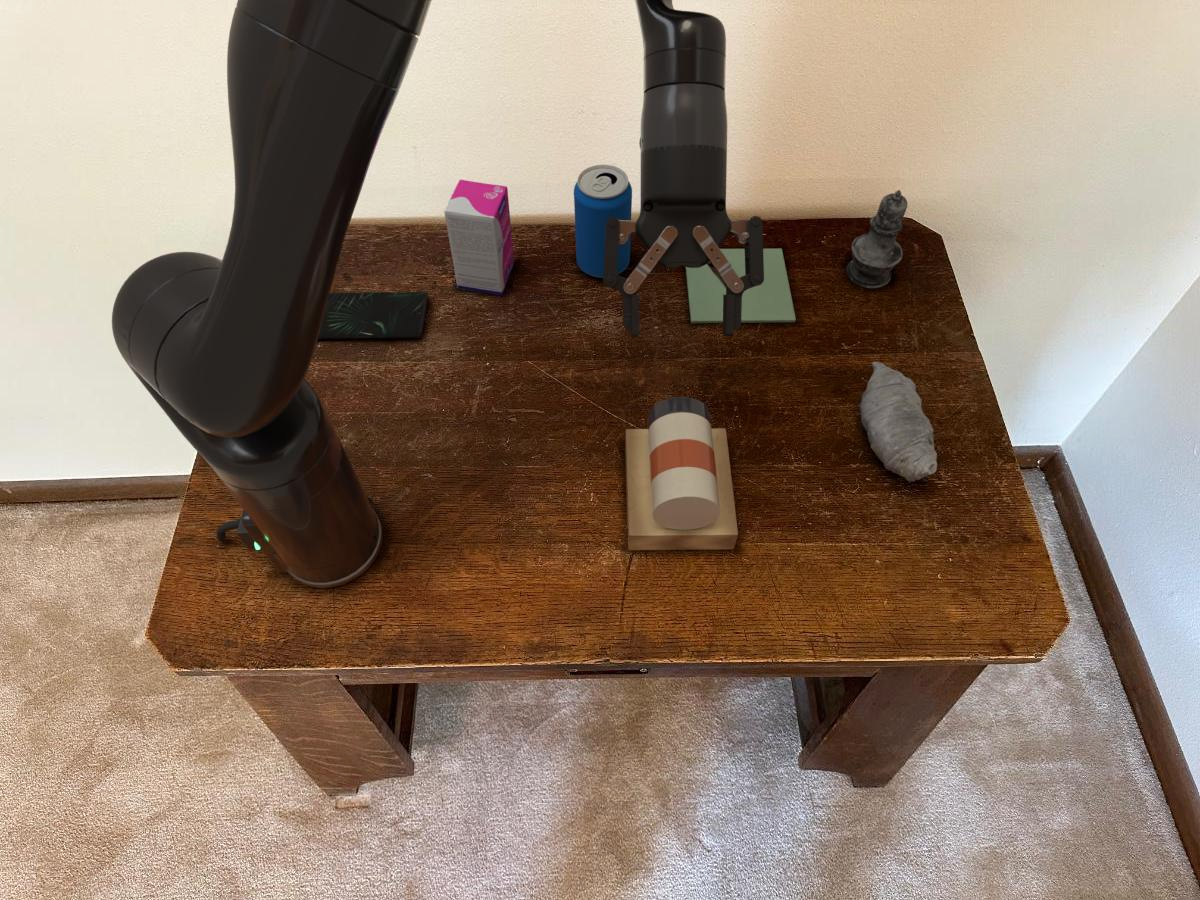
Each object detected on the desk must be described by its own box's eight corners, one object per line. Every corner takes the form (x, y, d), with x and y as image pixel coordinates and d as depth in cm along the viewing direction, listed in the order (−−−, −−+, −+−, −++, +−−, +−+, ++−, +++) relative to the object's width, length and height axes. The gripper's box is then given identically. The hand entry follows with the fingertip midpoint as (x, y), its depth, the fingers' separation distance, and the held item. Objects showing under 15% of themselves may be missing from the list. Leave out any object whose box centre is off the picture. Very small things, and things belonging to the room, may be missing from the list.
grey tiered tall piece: (835, 261, 97) (861, 178, 87) (878, 251, 98) (909, 168, 88) (858, 294, 94) (888, 212, 84) (902, 284, 95) (937, 201, 85)
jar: (650, 530, 73) (653, 496, 68) (645, 434, 79) (648, 396, 74) (716, 530, 73) (724, 496, 68) (706, 433, 79) (713, 396, 74)
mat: (690, 323, 91) (691, 320, 91) (684, 251, 98) (684, 249, 98) (795, 322, 91) (796, 320, 91) (781, 250, 98) (781, 248, 98)
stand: (628, 550, 75) (629, 535, 73) (624, 445, 82) (625, 428, 79) (734, 549, 75) (738, 534, 73) (722, 445, 82) (725, 427, 79)
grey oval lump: (909, 360, 84) (925, 336, 77) (931, 486, 82) (950, 474, 74) (847, 368, 85) (857, 345, 78) (867, 493, 83) (879, 482, 75)
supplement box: (504, 296, 94) (493, 218, 84) (456, 289, 95) (440, 211, 85) (517, 262, 97) (507, 184, 88) (470, 256, 98) (456, 177, 88)
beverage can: (639, 257, 98) (643, 174, 88) (611, 289, 95) (612, 207, 85) (594, 238, 100) (593, 155, 90) (566, 269, 96) (561, 186, 87)
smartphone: (300, 292, 93) (428, 290, 93) (303, 298, 94) (429, 296, 94) (287, 336, 89) (420, 334, 89) (290, 342, 90) (422, 340, 90)
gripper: (602, 141, 66) (603, 339, 69) (774, 139, 66) (768, 337, 69) (601, 157, 73) (603, 335, 76) (756, 155, 73) (751, 333, 76)
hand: (681, 336), depth 73 cm, fingers open, 8 cm apart
